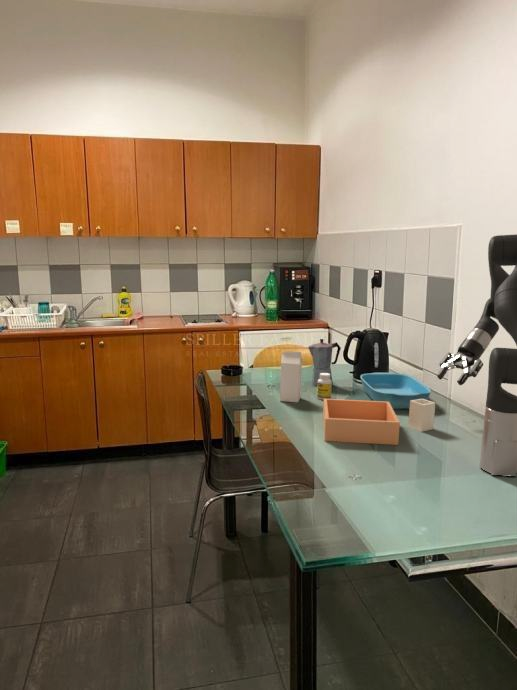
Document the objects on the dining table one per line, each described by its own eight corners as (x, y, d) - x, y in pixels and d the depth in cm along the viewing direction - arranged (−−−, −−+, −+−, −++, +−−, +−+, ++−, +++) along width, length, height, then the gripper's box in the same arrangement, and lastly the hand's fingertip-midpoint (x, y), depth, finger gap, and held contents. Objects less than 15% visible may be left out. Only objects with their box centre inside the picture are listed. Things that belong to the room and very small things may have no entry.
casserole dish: (354, 386, 228) (355, 370, 226) (406, 387, 229) (407, 371, 227) (376, 413, 192) (377, 394, 190) (437, 414, 192) (439, 394, 191)
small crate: (420, 424, 180) (422, 398, 179) (433, 429, 175) (435, 402, 174) (408, 426, 177) (410, 400, 176) (420, 431, 173) (423, 405, 171)
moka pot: (301, 383, 230) (303, 337, 226) (331, 380, 237) (334, 336, 233) (312, 389, 222) (314, 341, 218) (344, 385, 228) (346, 339, 224)
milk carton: (298, 402, 202) (300, 353, 198) (279, 401, 203) (281, 352, 200) (300, 397, 209) (302, 350, 205) (282, 396, 210) (284, 349, 206)
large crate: (398, 444, 161) (399, 422, 159) (324, 440, 163) (325, 418, 161) (387, 421, 182) (389, 401, 181) (322, 418, 184) (323, 398, 183)
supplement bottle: (314, 398, 207) (315, 374, 206) (319, 395, 212) (321, 371, 210) (328, 401, 205) (329, 376, 203) (332, 397, 210) (334, 373, 208)
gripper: (453, 334, 187) (427, 369, 184) (488, 341, 175) (461, 378, 172) (462, 348, 191) (437, 382, 187) (497, 355, 179) (470, 392, 175)
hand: (448, 380), depth 179 cm, fingers open, 8 cm apart
